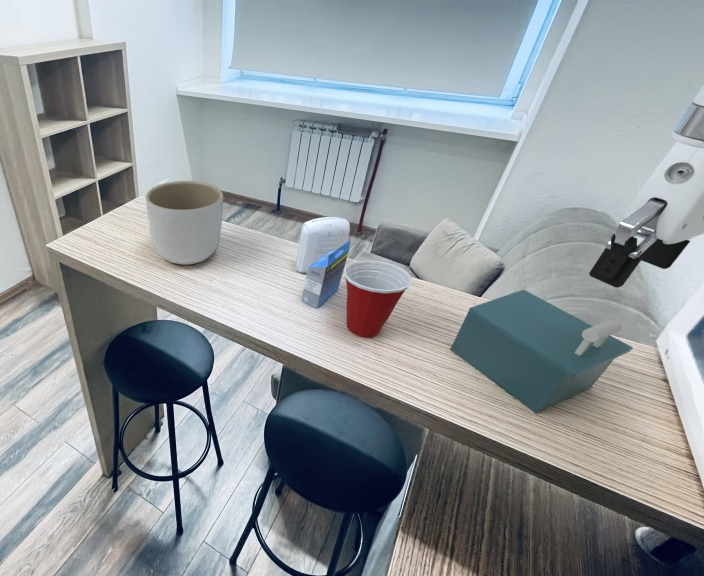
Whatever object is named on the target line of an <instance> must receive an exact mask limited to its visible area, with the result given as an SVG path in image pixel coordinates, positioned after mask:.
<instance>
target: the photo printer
mask: <svg viewBox="0 0 704 576" xmlns="http://www.w3.org/2000/svg"><path fill="white" fill-rule="evenodd" d="M350 231H351V226H350V222H349V221H348V220H347V219H346V218H342V217H338V216H337V217H336V216H325V217H318V218H313V219H310V220H307V221H304V222H303V224H302V226H301V229H300V234H299V235H300V236H299V242H298V248H297V253H296V261H295V269H296V271H297V272H298V273H303V274H307V271H308V267H310V266H311V265H312V264H314V263H315V262H316V261H318V260H319V259H320V258H321V257H323V256H324V255H325V254H327V253H328V252H329V251H331V250H336V249H337V248H339V247H340V246H342V245H343V244H345V243H346V242H347V241H348V240H349V237H350Z"/></svg>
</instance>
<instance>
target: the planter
mask: <svg viewBox="0 0 704 576" xmlns="http://www.w3.org/2000/svg"><path fill="white" fill-rule="evenodd" d="M145 205H146V213H147V223H148V230H149V236H150V241H151V244H152V248H153V249H154V251H155V252H156V254H157V255H159V256H160V257H161V258H162V259H163V260H166V261H167V262H170V263H171V264H175V265H183V266H186V265H188V266H189V265H194V264H195V265H196V264H199V263H201V262H203V261H205V260H207V259H209V258H210V257H211V256H212V255H213V254H214V253H215V252H216V251H217V249H218V246H219V244H220V242H221V241H220V240H221V233H222V223H223V207H224V193H223V191H222V190H221V188H219V187H217V186H216V185H214V184H211V183H208V182H203V181H196V180H177V181H176V180H175V181H170V182H165V183H161V184H158V185H155V186H154V187H152V188H151V189H149V190H148V191H147V192H146V193H145Z"/></svg>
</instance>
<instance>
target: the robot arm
mask: <svg viewBox="0 0 704 576" xmlns="http://www.w3.org/2000/svg"><path fill="white" fill-rule="evenodd" d="M670 138H671V139H673V140H675V141H676V142H675V143H674V144H673V146H672V147H671V148H670V149H669V151H667V153H666V155H665V156H664V157H663V158H662V160H661V161H660V162H659V164H658V165H657V166H656V168H655V169H654V170H653V172H652V173H651V175H650V176H649V177H648V179H647V180H646V181H645V183H644V184H643V186H641V188H640V190H639V191H638V193H637V194H636V195H635V197H634V199H633V200H632V201H631V203H630V205H629V206H628V207H627V209H626V211H625V213H624V215H623V216H622V218H621V220H620V223H619V224H617V225H618V226H617V228H616V231H615V233H613V234H612V235H611V237H610V241H608V242H607V243H606V245H605V249H603V251H602V253H601V254H600V256H599V257H598V259H597V260H596V262H595V263H594V265H593V266H592V268H591V270H590V271H589V272H588V274H589V276H590V277H591V278H593V279H596V280H597V281H600V282H602V283H604V284H606V285H608V286H611V287H613V288H617V289H618V288H621V287H623V286H624V285H625V284H626V282H627V281H628V279H629V278H630V276H631V275H632V274H633V273H634V271H635V270H636V269H637V267H638V265H640V263H641V262H644V263H647V264H650V265H652V266H653V267H657V268H659V269H661V270H666V269H669V268H671V267H672V266H673V264H674V263H675V261H676V260H677V259H678V258H679V257H680V255H681V254H682V253H683V252H684V250H685V249H686V247H687V246H688V245H689V244H690V242H691V239H693V238H696V237H698V236H700V235H703V234H704V83H703V84H702V86H701V88H700V89H699V91H698V92H697V94H696V95H695V97H694V99H693V100H692V102H691V103H690V105H689V106H688V107H687V109H686V111H685V112H684V113H683V115H682V117H681V118H680V120H679V122H678V123H677V125H676V126H675V127H674V129H673V130H672V132H671V134H670ZM646 228H647V229H646ZM652 230H653V231H652ZM635 236H636V237H635ZM638 237H639V238H641V239H643V240H642V241H641V242H640V243H638Z"/></svg>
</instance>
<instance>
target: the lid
mask: <svg viewBox="0 0 704 576" xmlns="http://www.w3.org/2000/svg"><path fill="white" fill-rule="evenodd" d="M468 312H470V313H471V314H473V315H475V316H476V317H478V318H479V319H481V320H482V321H484V322H486V323H487V324H489V325H490V326H492V327H493V328H495V329H497V330H498V331H500V332H501V333H503V334H504V335H506V336H508V337H509V338H511V339H512V340H514V341H515V342H517V343H518V344H520V345H522V346H523V347H525V348H526V349H528V350H529V351H531V352H533V353H534V354H536V355H537V356H539V357H540V358H542V359H544V360H545V361H547V362H548V363H550V364H551V365H553V366H555V367H556V368H558V369H559V370H561V371H562V372H564V373H566V374H567V375H569V376H570V377H572V378H574V377H576V376H578V375H580V374H582V373H585V372H587V371H589V370H591V369H593V368H595V367H598V366H600V365H602V364H604V363H606V362H608V361H611V360H613V359H614V360H615V359H617V358H619V357H622V356H624V355H626V354H628V353H630V352H631V351H632V350H633V349H634V347H633V346H631V345H629V344H628V343H625V342H624V341H621V340H620V339H618V338H616V337H614V336H612V335H614V334H616V333H619V332H621V330H622V324H621V323H620V322H619V321H617V320H615V319H607V320H605V321H602V322H601V323H598V324H596V325H591V324H590V323H587V322H586V321H584V320H582V319H580V318H579V317H577V316H574V315H573V314H571V313H569V312H567V311H565V310H563V309H561V308H559V307H557V306H556V305H554V304H553V303H550V302H548V301H546V300H544V299H542V298H540V297H538V295H537V296H536V295H535V294H534V293H531V292H529V291H527V290H525V289H520V290H518V291H515V292H512V293H509V294H506V295H503V296H500V297H497V298H495V299H492V300H489V301H486V302H483V303H480V304H477V305H474V306H471V307H469V309H468ZM468 312H467V313H468ZM614 360H613V361H614Z"/></svg>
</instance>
